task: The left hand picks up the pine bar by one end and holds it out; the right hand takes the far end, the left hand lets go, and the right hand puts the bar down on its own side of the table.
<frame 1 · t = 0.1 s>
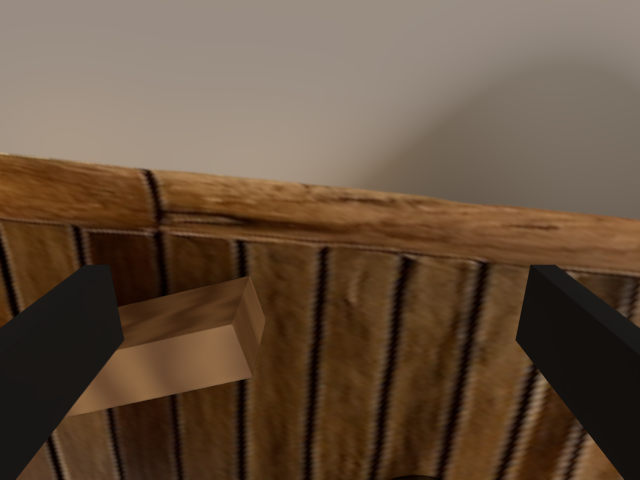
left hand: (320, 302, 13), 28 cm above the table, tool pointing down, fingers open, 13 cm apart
bar: (159, 321, 45), on the table
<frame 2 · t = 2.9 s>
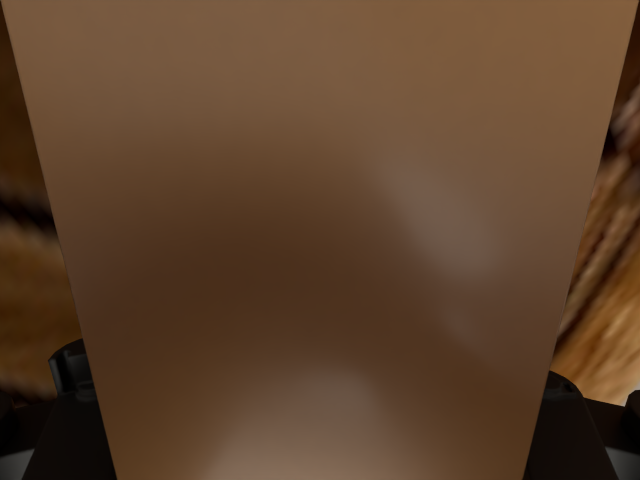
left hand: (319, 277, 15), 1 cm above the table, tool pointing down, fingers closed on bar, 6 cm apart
bar: (319, 13, 12), on the table, touching left hand
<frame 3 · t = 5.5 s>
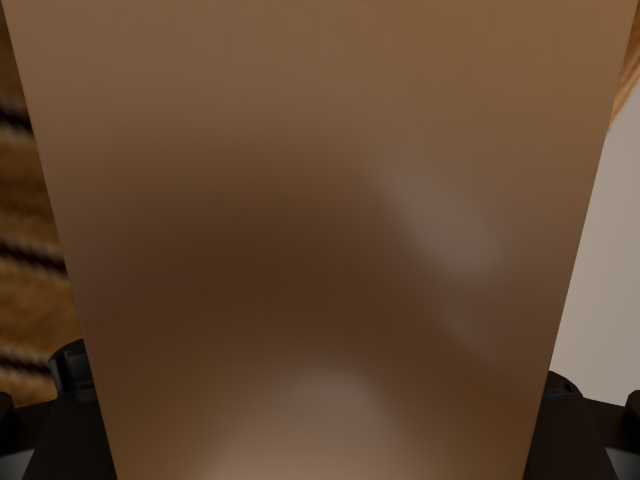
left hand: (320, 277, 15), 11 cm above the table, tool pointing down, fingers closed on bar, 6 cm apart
bar: (319, 13, 12), point 10 cm above the table, touching left hand
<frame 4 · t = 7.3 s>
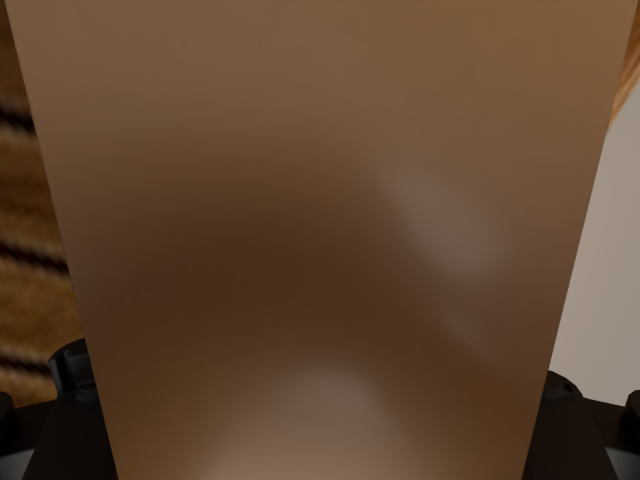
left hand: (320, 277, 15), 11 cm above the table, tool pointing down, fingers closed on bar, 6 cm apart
bar: (320, 13, 12), point 10 cm above the table, touching left hand, right hand
when the left hand's fingers open (11 cm above the table, at t = 8.4 s): bar stays where it is, held by the right hand.
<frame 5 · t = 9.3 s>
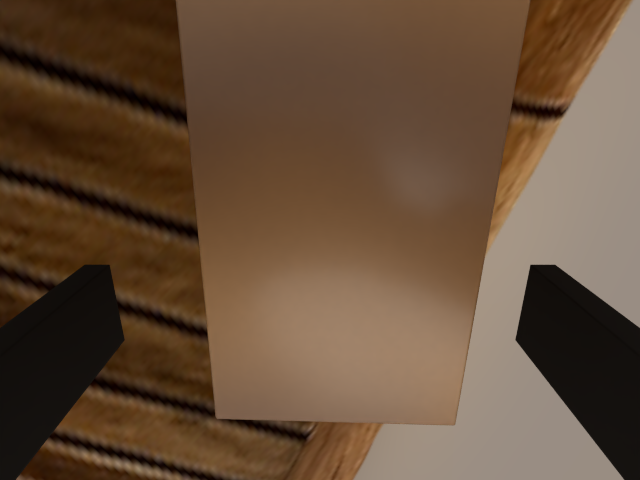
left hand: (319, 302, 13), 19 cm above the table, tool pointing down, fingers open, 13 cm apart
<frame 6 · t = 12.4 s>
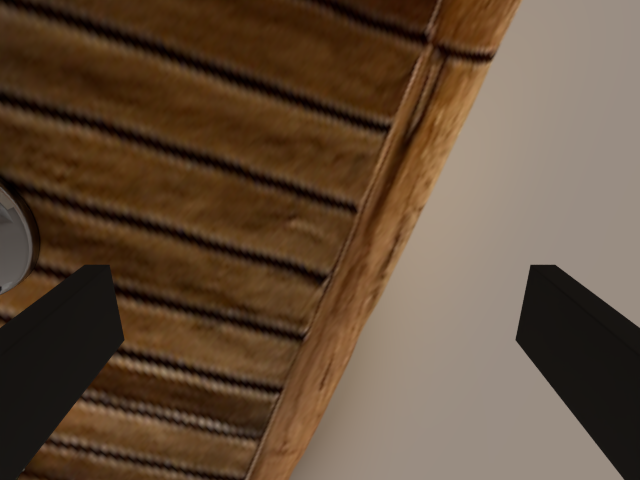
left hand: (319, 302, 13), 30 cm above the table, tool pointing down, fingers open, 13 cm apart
when the right hand's fingers open (5 cm above the table, at t = 17.5 s): bar stays where it is, on the table.
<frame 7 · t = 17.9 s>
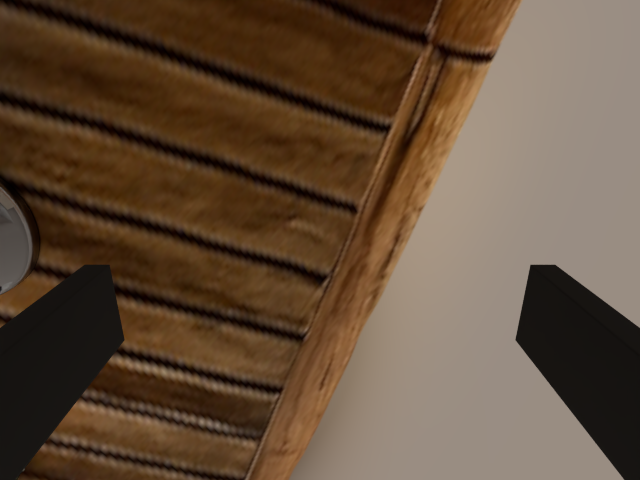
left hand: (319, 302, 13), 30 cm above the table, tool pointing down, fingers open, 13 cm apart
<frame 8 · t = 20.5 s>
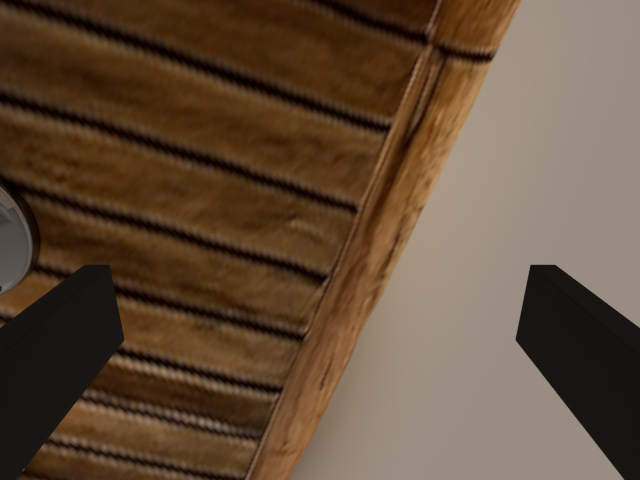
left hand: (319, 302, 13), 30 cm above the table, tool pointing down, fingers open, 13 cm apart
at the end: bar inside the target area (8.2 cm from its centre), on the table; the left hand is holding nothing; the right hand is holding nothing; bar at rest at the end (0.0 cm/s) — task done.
